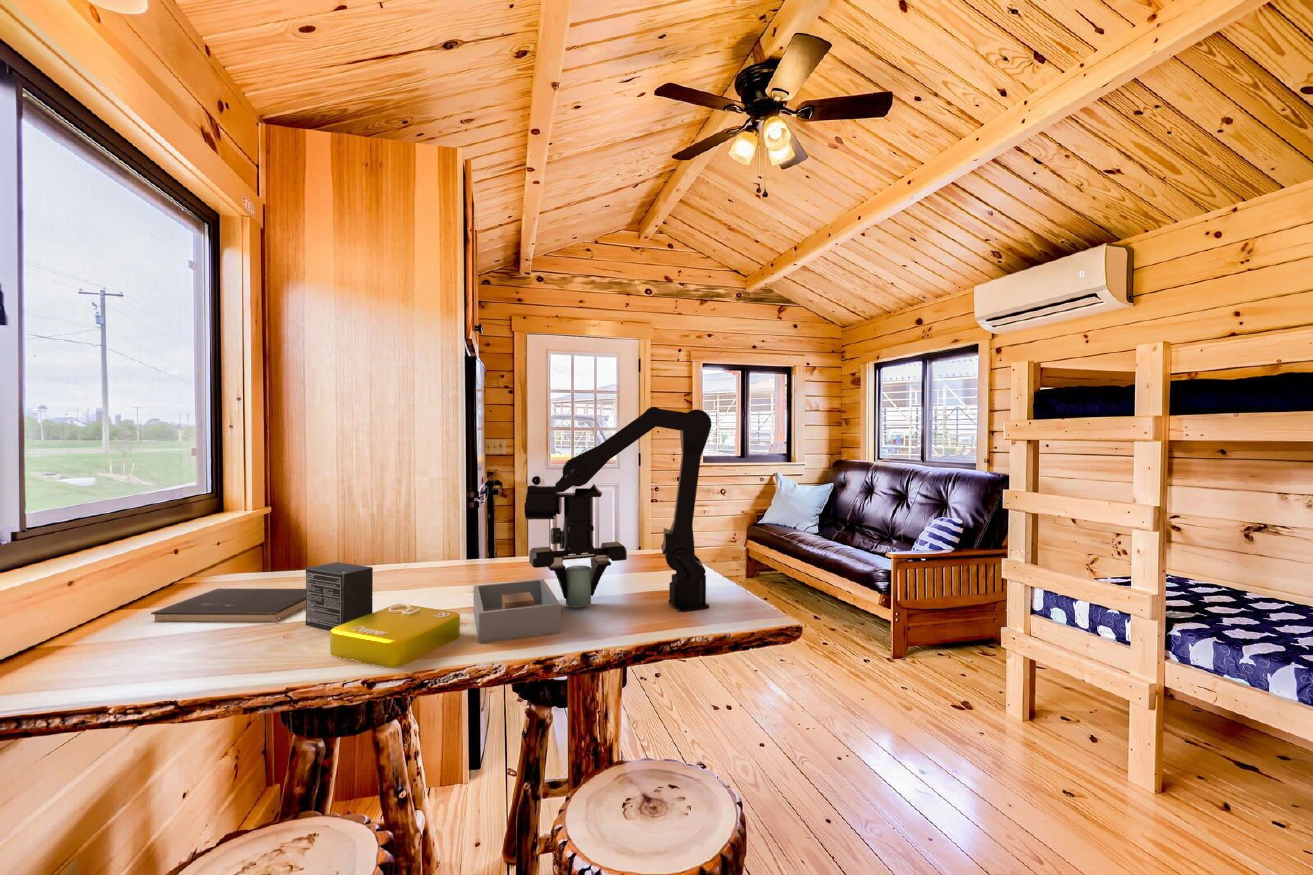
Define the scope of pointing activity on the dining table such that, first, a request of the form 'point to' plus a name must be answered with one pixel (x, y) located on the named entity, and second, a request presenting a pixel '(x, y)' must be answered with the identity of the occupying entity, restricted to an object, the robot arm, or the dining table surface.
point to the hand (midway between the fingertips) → (578, 596)
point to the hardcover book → (236, 605)
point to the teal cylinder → (578, 586)
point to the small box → (337, 594)
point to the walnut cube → (517, 600)
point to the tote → (515, 611)
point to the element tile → (395, 635)
